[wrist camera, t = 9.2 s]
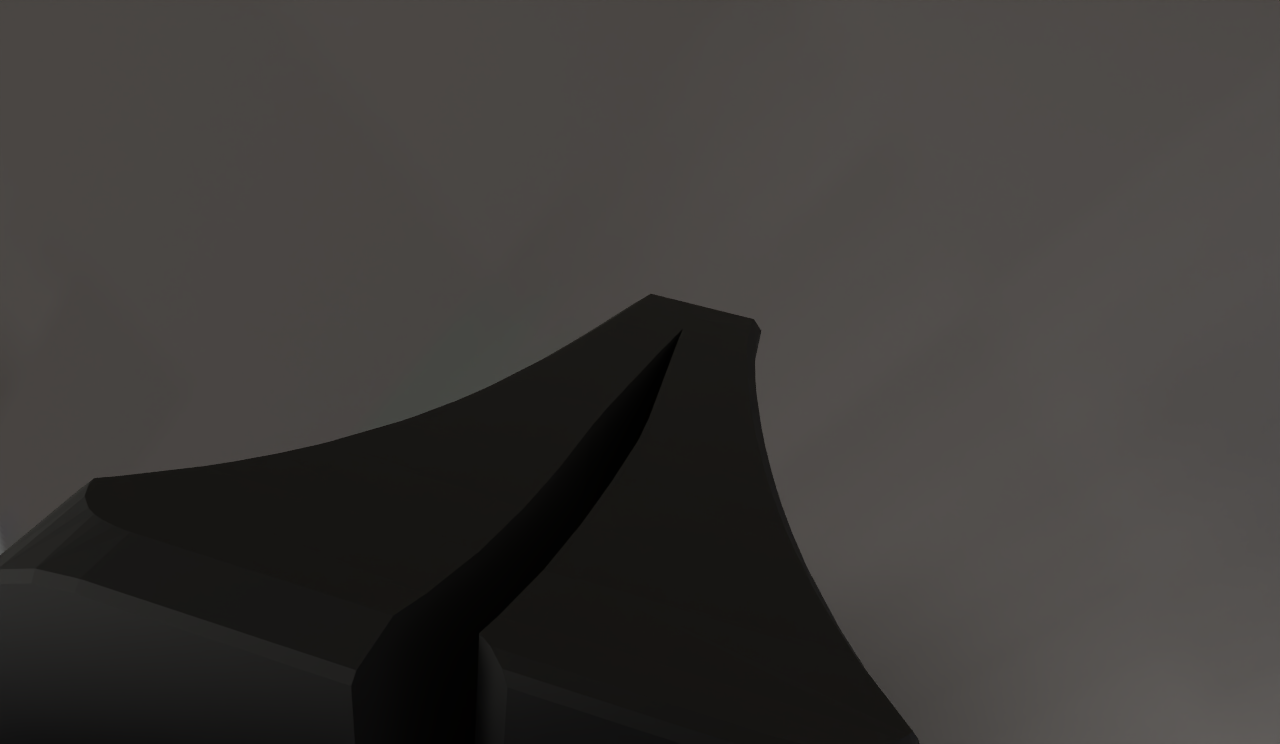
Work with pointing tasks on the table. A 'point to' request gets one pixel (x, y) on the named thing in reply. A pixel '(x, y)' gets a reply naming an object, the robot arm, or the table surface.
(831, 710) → the robot arm
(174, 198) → the table surface
